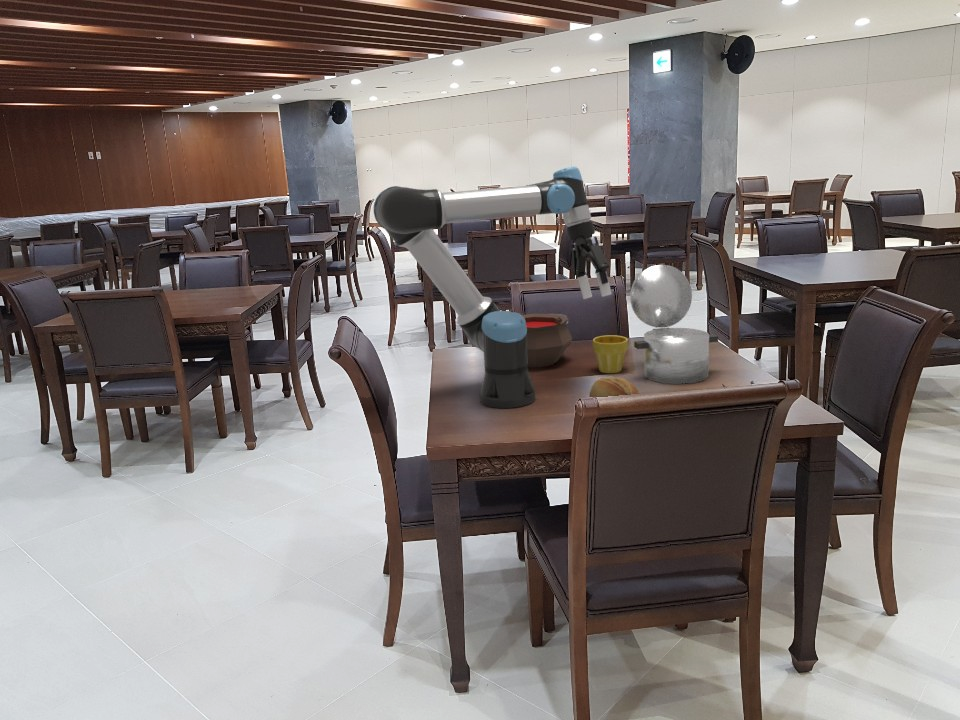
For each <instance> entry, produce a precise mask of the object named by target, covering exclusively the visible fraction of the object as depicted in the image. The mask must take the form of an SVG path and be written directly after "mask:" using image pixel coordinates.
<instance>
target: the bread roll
mask: <svg viewBox="0 0 960 720" xmlns="http://www.w3.org/2000/svg"><path fill="white" fill-rule="evenodd" d="M631 394H640V393H639V389H637V387H636V386H635V385H634V384H633V382H631V381H629V380H627V379H625V378H623V377H619V376H606V377H601V378H597V379H596V380H595V381H593V384H592V386H591V387H590V391H589V398H590V397H608V396H619V395H631Z"/></svg>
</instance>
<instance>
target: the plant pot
mask: <svg viewBox="0 0 960 720" xmlns="http://www.w3.org/2000/svg"><path fill="white" fill-rule="evenodd" d="M628 349H629V339H628V337H626V336H622V335H615V334H614V335H613V334H612V335H609V334H607V335H600V336H596V337H594V338H593V339H592V350H593V352H594V353H595V358H596V362H597V366H598V370H599V372H601V373H603V374H618V373H620V372H621V371H622V370H623V365H624V360H625V355H626V352H627V351H628Z"/></svg>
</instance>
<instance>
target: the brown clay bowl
mask: <svg viewBox="0 0 960 720" xmlns="http://www.w3.org/2000/svg"><path fill="white" fill-rule="evenodd" d="M508 311H511V312H515V311H514V310H513V309H512V308H510V309H509V310H508ZM558 314H559V313H526V314H521V315H522V316H523V317H524V318H525V321H526V327H527V358H528V368H536V367H537V368H543V366H544V367H548V365H551V366H553V365H554V363H557V362H559V360H560V359H561V357H562V356H563V354H564V353H565V351H566V350H567V348H568V347H569V345H570V343H571V342H572V340H574V338H573V337H572V335H571V332H570V330H569V328H568V326H567V324H566V322H567V321H568V322H569V320H570V319H569V318H568V317H567V318H566V317H563V316H560V315H558Z"/></svg>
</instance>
